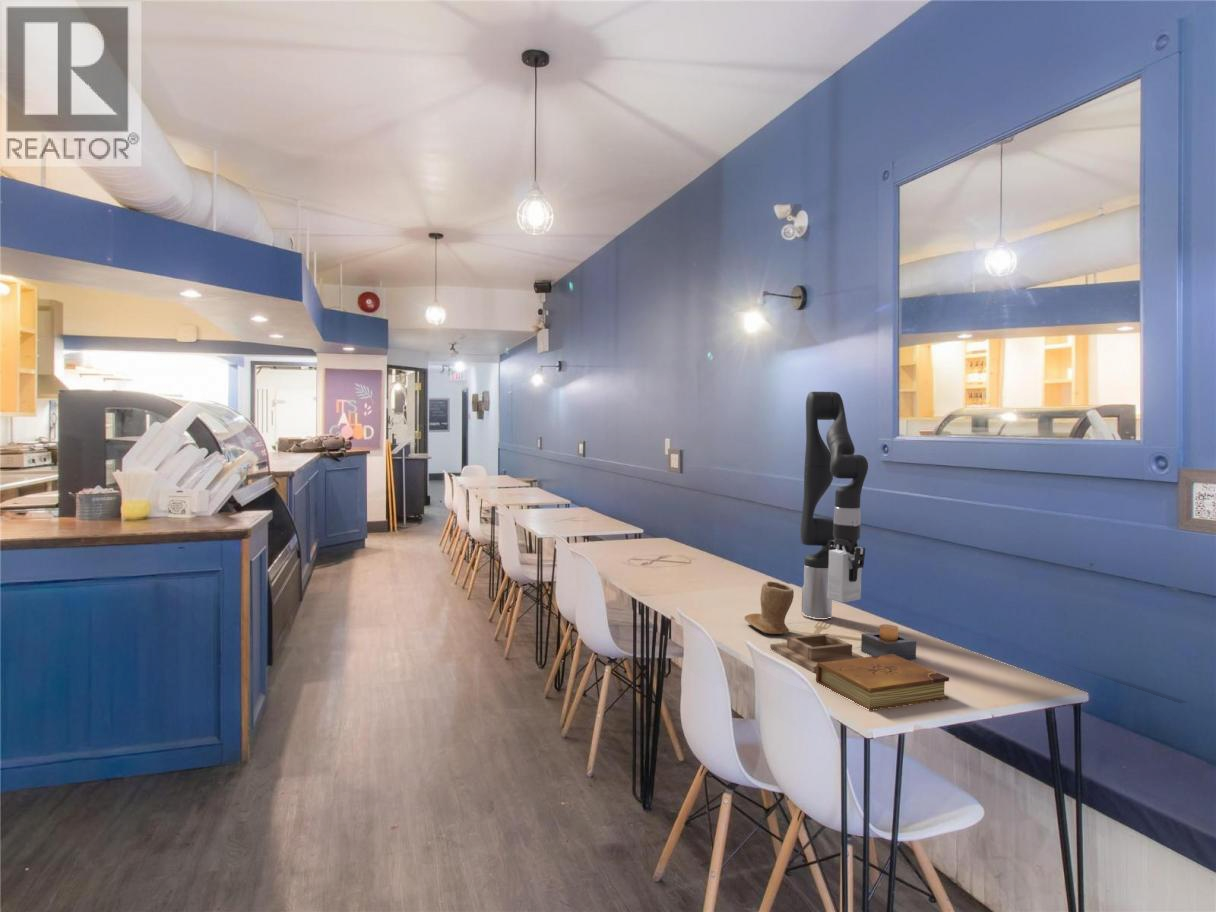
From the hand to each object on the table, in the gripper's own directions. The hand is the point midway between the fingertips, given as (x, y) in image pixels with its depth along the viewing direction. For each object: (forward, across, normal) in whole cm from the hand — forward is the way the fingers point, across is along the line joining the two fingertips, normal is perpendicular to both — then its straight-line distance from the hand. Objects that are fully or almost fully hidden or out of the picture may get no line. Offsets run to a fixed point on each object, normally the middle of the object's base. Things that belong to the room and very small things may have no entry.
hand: (844, 578), depth 204 cm
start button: (+15, +14, +4) cm, 21 cm away
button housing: (+19, +14, +4) cm, 24 cm away
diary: (+19, +35, -17) cm, 44 cm away
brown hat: (+19, -17, -14) cm, 29 cm away
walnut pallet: (+19, +10, -16) cm, 27 cm away
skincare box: (+6, 0, 0) cm, 6 cm away
